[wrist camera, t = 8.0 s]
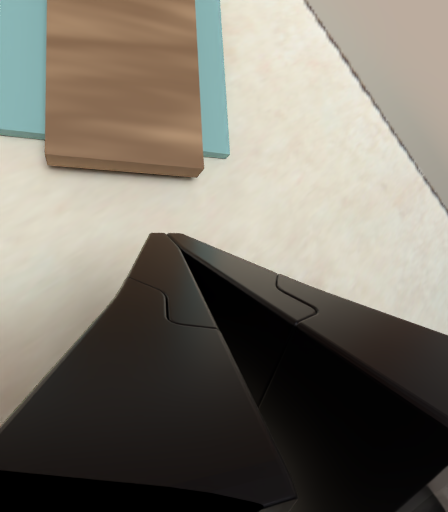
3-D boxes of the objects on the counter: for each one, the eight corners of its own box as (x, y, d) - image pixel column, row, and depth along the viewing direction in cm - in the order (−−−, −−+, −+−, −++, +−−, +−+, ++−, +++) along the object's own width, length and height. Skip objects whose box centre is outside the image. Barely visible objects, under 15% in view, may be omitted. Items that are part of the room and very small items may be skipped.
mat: (225, 158, 20) (230, 154, 19) (-1, 134, 16) (-4, 128, 15) (213, -42, 22) (216, -52, 21) (6, -109, 18) (4, -123, 17)
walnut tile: (203, 168, 17) (192, -44, 19) (44, 153, 15) (48, -91, 16) (196, 177, 18) (186, -25, 20) (47, 165, 16) (50, -65, 18)
